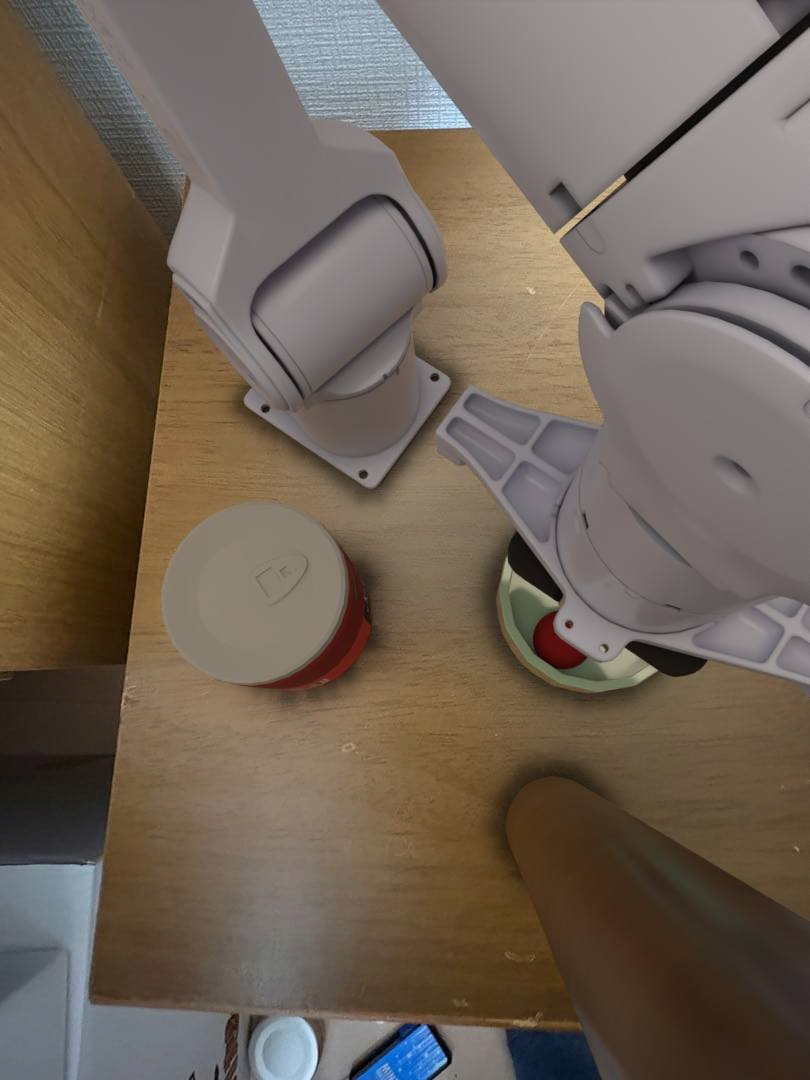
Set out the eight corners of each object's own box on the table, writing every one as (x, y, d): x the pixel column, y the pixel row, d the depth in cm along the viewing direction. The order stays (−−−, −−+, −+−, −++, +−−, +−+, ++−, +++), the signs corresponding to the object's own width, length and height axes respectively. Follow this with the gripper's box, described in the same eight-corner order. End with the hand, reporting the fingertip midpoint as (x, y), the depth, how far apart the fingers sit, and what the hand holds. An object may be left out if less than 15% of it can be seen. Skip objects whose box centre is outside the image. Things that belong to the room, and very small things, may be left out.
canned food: (403, 608, 43) (385, 574, 32) (306, 723, 42) (255, 727, 31) (299, 522, 44) (249, 461, 34) (204, 631, 43) (121, 605, 33)
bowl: (462, 624, 43) (463, 617, 39) (558, 486, 44) (567, 467, 40) (611, 728, 41) (625, 729, 38) (706, 581, 42) (728, 570, 39)
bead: (519, 649, 42) (523, 644, 39) (550, 602, 42) (557, 594, 39) (567, 682, 41) (575, 680, 38) (598, 635, 42) (609, 629, 39)
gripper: (359, 465, 20) (398, 564, 33) (891, 825, 17) (702, 775, 30) (518, 253, 21) (494, 432, 34) (1044, 564, 18) (796, 626, 31)
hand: (599, 585), depth 32 cm, fingers closed
